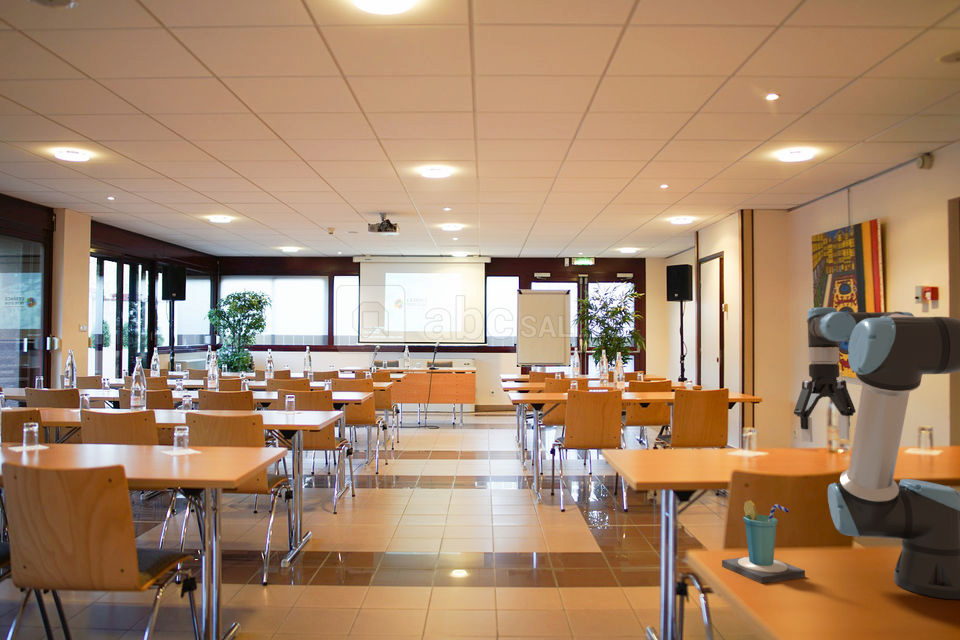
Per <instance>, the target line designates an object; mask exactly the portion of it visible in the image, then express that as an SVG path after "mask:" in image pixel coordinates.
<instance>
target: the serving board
mask: <svg viewBox="0 0 960 640" xmlns="http://www.w3.org/2000/svg"><path fill="white" fill-rule="evenodd" d="M721 567H723V568H724V569H728V570H729V571H732V572H734V573H736V574H740V575H742V576H743V577H746V578H748V579H750V580H752V579H753V580H752V581H755V580H756V581H755V582H757V581H758V582H757V583H759V582H760V584H761V583H763V584H767V583H766V582H769V583H775V582H781V581H782V582H783V581H787V580H794V579H795V580H796V579H800V578H805V577H806V571H805V569H803V568H800V567H797V566H794V565H791V564H790V563H786V562H784V561H781V560H778V559H776V558H774V560H773V564H772V565H771V566H760V565H755V564H753V563H751V562H750V561H749V556H741V557H735V558H734V557H733V558H727V559H722V560H721ZM774 581H775V582H774Z"/></svg>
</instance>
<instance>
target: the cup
mask: <svg viewBox="0 0 960 640" xmlns="http://www.w3.org/2000/svg"><path fill="white" fill-rule="evenodd" d="M776 510H781V511H783V512H785V513H789V509H788V508H786V507H784V506H781V505H780V504H778V503H776V504H773V506H771V509H770V513H769V515H764V514H758V510H757V506H756V505H755V503H754V502H753V501H752V500H746V501H744V505H743V512H744V515H745V516H743V522H744V524H745V525H744V526H745V534H746V543H747V550H748V551H747V553H748V557H749V561H750V562H751V563H753V564H755V565H760V566H771V565H772V564H773V560H774V559H775V545H776V544H775V543H776V532H777V525H778V519H777V518H775V517H774V516H775V511H776Z"/></svg>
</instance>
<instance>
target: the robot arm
mask: <svg viewBox="0 0 960 640" xmlns="http://www.w3.org/2000/svg"><path fill="white" fill-rule="evenodd" d="M806 323H807V341H808V344H807V345H808V347H807V348H808V362H810V364H809V365H808V376H809V377H810V378H811V380H802V382H801V383H802V384H801V391H800V394H799V395H798V399H797V401H796V405H795V408H794V410H793V414H794V415H796V416H797V417H800V429H801V441H802V442H808V443H813V418H812V417H810V416H811V415H812V413H813V411H814V409H815V408H816V406H817V404H818V403H819V401H820V400H821V399H822V398H826V397H828V398H829V399H830V400H831V402H832V403H833V405H834V406H835V408H836V409H837V411H838V412H839V414H838V415H837V418H838V421H837V423H838V424H837V425H838V439H839V440H850V425H851V424H850V423H851V421H850V420H851V419H850V418H851V417H852V416H854V414H855V413H856V408H855V405H854V403H853V401H852V397H851V396H850V392H849V390H848V387H847V381H846V380H843V379H842V380H841V379H838V378H839V377H840V375H841V374H840V365H839V364H838V363H839V362H840V342H848V346H847V348H848V349H847V351H848V355H847V359H848V360H847V361H848V365H849V367H850V369H851V371H852V372H854V373H855V377H856V378H857V380H858V381H859V382H860V383H861V390H860V397H859V405H858V408H857V409H858V410H857V417H856V422H855V428H854V435H853V440H852V441H853V442H852V448H851V454H850V461H849V465H848V466H849V467H848V469H846V470H844V471H842V473H841V474H840V477H839V482H838V483H837V482H832V483H830V484H829V485H828V487H827V501H828V506H829V512H830V515H831V520H832V522H833V525H834V527H835V529H836V530H837V531H838V533H840V534H841V535H843V536H850V537H857V538H861V537H862V538H864V537H865V538H880V539H881V538H882V539H883V538H884V539H898V540H901V552H900V554H899V556H898V559H897V562H896V565H895V568H894V572H893V578H894V579H893V581H894V583H895V584H896V585H897V586H898V587H901V588H902V589H904V590H906V591H910V592H912V593H915V594H918V595H923V596H928V597H933V598H938V599H939V598H940V599H947V600H960V491H958V490H957V489H954V488H953V487H950V486H947V485H943V484H939V483H934V482H929V481H924V480H918V479H912V478H902V479H900V481H899V483H898V484H897V482H896V481H895V480H894V477H895V476H894V475H895V469H896V467H897V466H896V465H897V460H898V455H899V451H900V449H899V448H900V445H901V440H902V433H903V427H904V425H905V424H904V423H905V419H906V413H907V408H908V403H909V398H910V393H911V392H912V391H914V390H917V389H918V388H919V387H920V386H921V382H922V377H923V375H947V374H954V373H958V372H960V318H957V317H950V316H914V314H913V313H912V312H909V311H908V312H907V311H888V312H887V311H885V312H884V311H883V312H882V311H879V312H878V311H877V312H872V311H871V312H868V311H867V312H865V311H864V312H856V311H855V312H852V311H851V312H844V311H838V309H837V307H830V306H827V307H820V306H819V307H811V308H809V309H808V310H807V319H806Z"/></svg>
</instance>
